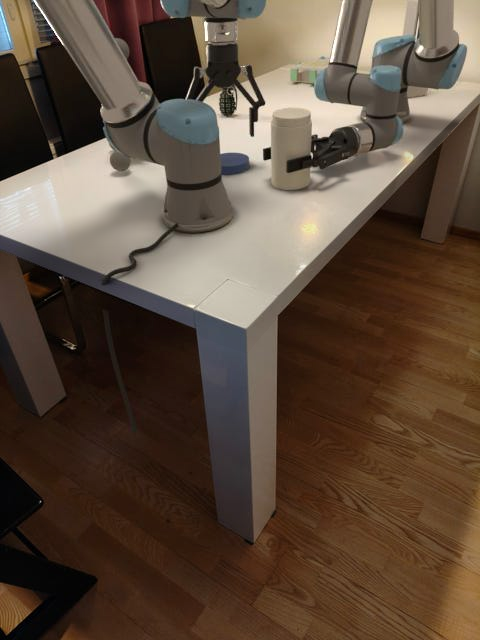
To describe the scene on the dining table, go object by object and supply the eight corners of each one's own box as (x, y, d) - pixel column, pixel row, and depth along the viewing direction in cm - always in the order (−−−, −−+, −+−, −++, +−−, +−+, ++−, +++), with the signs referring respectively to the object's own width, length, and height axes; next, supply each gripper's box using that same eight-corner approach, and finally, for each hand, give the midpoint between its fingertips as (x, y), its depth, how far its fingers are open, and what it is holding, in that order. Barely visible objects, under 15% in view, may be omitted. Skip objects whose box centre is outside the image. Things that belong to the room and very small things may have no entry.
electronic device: (396, 99, 175) (410, -1, 157) (386, 94, 181) (398, -2, 163) (427, 95, 178) (444, -4, 159) (416, 90, 183) (431, -5, 165)
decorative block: (312, 54, 215) (354, 57, 206) (311, 70, 219) (352, 74, 210) (281, 65, 199) (325, 69, 190) (281, 83, 203) (324, 87, 194)
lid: (251, 172, 127) (251, 164, 125) (211, 176, 126) (211, 167, 125) (247, 158, 135) (246, 151, 134) (209, 162, 134) (209, 154, 133)
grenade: (217, 117, 168) (214, 86, 162) (221, 112, 172) (219, 82, 166) (235, 117, 166) (233, 86, 160) (239, 113, 171) (238, 82, 165)
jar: (264, 186, 119) (263, 116, 109) (281, 172, 126) (282, 105, 116) (299, 192, 115) (301, 120, 105) (315, 178, 122) (319, 109, 112)
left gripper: (168, 47, 108) (177, 144, 121) (278, 42, 111) (276, 137, 123) (167, 43, 114) (176, 136, 127) (271, 38, 117) (270, 130, 129)
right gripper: (378, 168, 118) (302, 191, 110) (321, 145, 133) (251, 162, 125) (382, 137, 113) (303, 158, 105) (323, 116, 129) (250, 133, 120)
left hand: (225, 137), depth 125 cm, fingers open, 13 cm apart
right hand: (275, 160), depth 115 cm, fingers closed on jar, 9 cm apart
